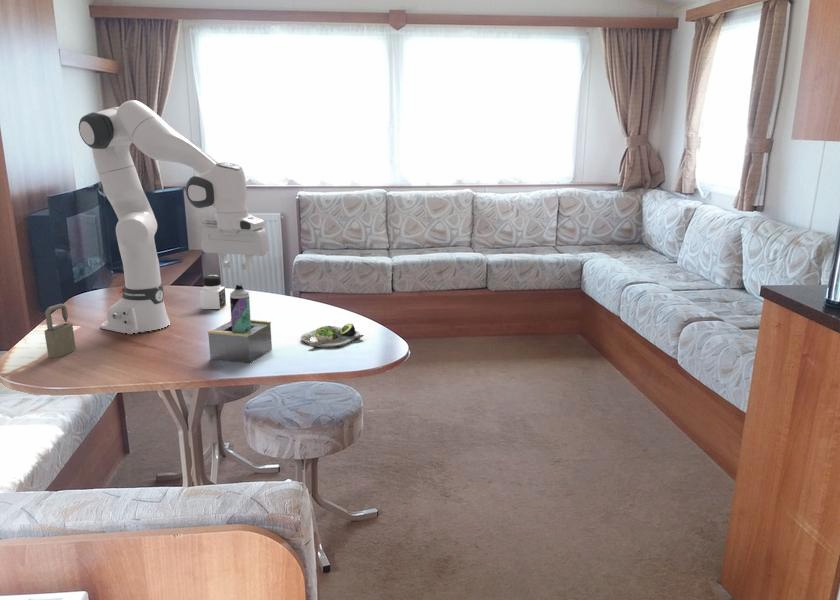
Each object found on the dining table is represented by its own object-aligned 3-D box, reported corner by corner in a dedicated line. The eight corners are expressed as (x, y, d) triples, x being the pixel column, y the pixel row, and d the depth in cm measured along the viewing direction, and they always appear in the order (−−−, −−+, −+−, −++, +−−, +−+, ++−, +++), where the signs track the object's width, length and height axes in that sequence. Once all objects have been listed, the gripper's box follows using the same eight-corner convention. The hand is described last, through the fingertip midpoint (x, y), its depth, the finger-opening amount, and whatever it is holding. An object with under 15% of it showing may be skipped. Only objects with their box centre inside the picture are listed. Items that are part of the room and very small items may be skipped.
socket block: (210, 360, 195) (207, 330, 193) (234, 346, 208) (232, 318, 205) (250, 364, 192) (247, 334, 189) (272, 350, 204) (270, 321, 202)
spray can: (236, 347, 202) (233, 282, 197) (254, 347, 201) (251, 283, 197) (230, 352, 196) (226, 286, 192) (248, 353, 196) (244, 286, 192)
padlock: (78, 349, 203) (71, 302, 199) (57, 358, 196) (49, 309, 192) (67, 348, 204) (60, 301, 200) (46, 357, 197) (38, 308, 193)
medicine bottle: (220, 310, 245) (218, 278, 242) (201, 309, 245) (198, 278, 242) (226, 304, 252) (224, 273, 249) (207, 304, 252) (204, 273, 249)
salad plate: (330, 355, 200) (330, 341, 198) (287, 344, 209) (286, 330, 208) (369, 338, 215) (369, 325, 214) (327, 329, 225) (327, 316, 223)
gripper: (194, 221, 189) (198, 268, 193) (258, 224, 183) (261, 273, 187) (207, 218, 195) (211, 264, 198) (270, 221, 189) (272, 268, 193)
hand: (236, 268), depth 193 cm, fingers open, 5 cm apart
